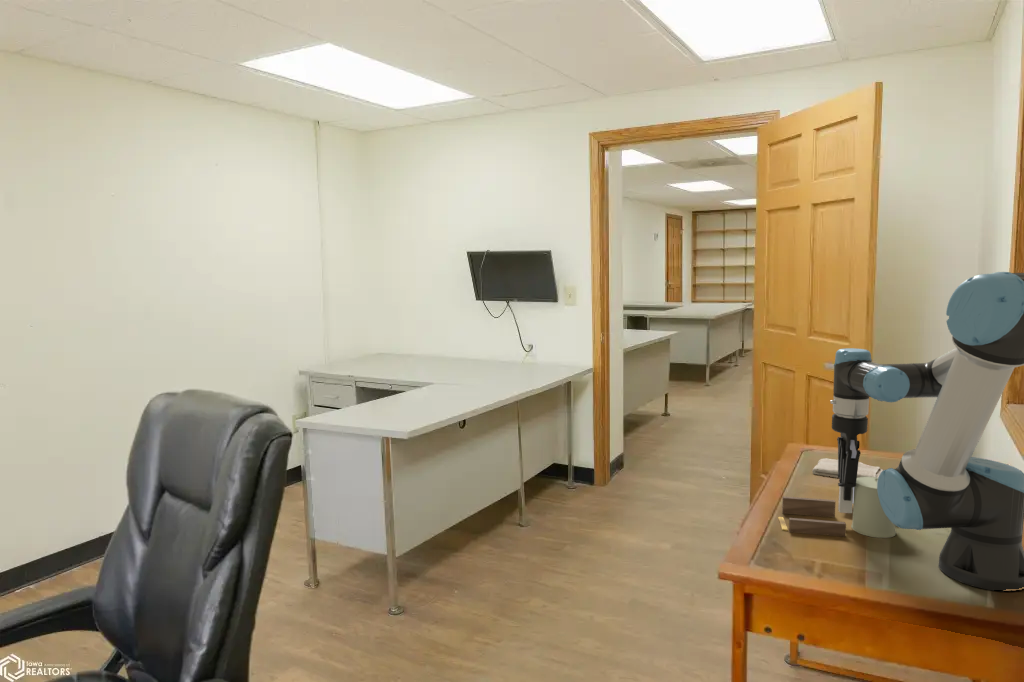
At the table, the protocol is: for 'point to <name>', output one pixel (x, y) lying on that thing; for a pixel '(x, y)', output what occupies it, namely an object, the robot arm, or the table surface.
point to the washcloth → (831, 469)
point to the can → (870, 510)
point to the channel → (813, 509)
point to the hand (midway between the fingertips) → (845, 511)
